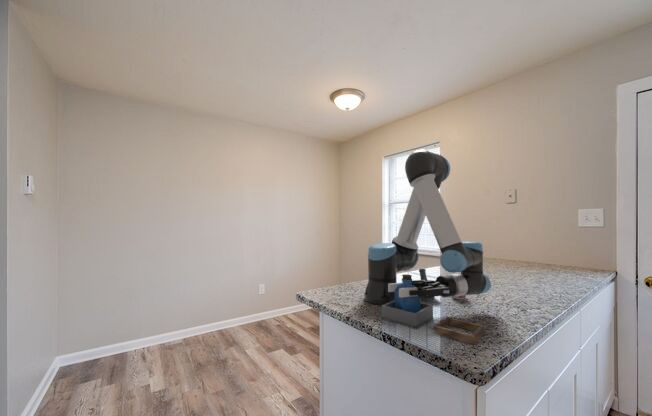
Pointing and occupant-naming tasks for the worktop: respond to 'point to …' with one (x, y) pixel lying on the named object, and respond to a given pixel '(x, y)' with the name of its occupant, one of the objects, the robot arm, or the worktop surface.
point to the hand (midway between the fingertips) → (394, 290)
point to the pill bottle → (459, 296)
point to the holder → (468, 338)
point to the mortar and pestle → (423, 276)
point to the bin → (407, 315)
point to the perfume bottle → (407, 302)
